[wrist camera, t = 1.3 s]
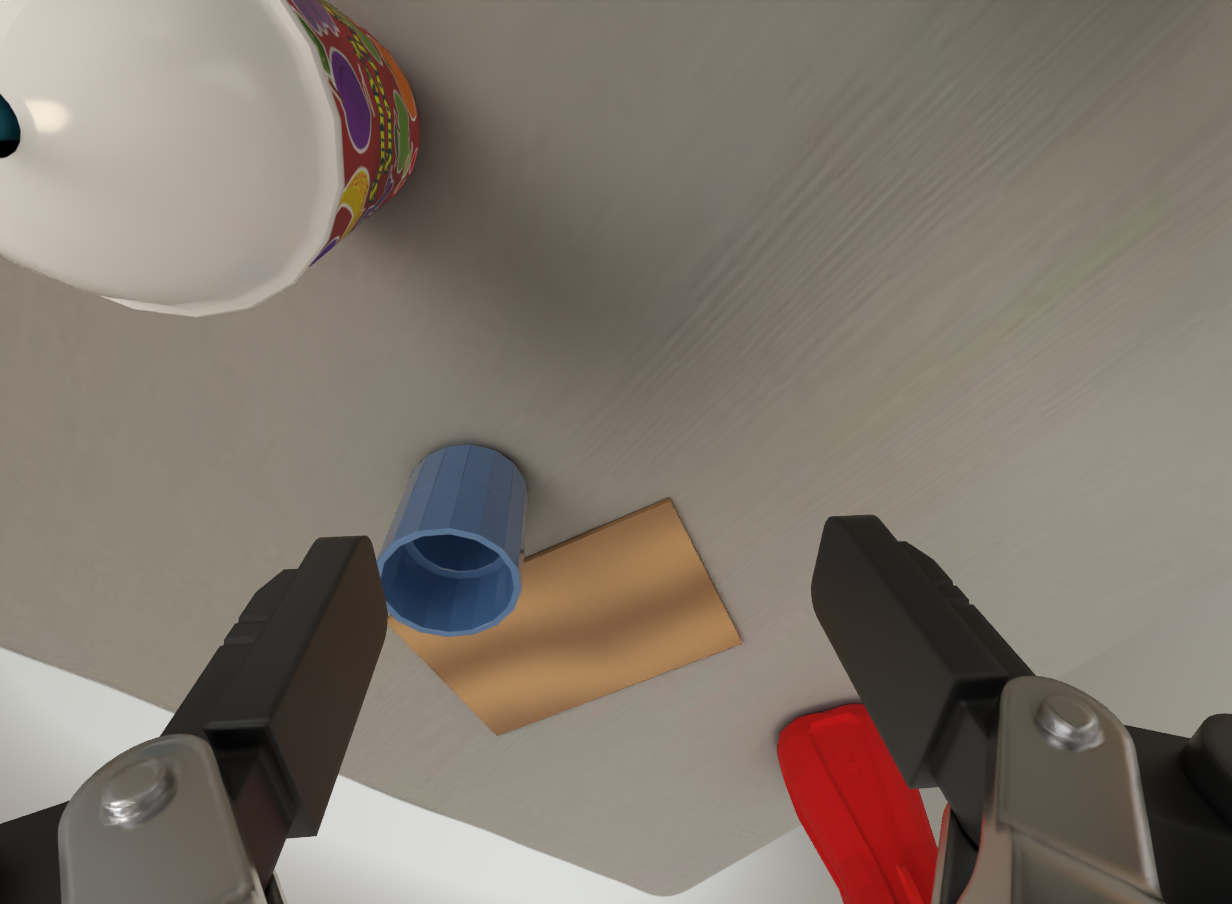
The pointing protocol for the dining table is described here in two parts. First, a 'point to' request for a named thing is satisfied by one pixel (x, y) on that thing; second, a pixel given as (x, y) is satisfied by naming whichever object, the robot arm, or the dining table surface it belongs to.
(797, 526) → the dining table surface
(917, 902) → the water bottle
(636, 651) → the mat
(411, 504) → the blue plastic tumbler
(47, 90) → the smoothie
